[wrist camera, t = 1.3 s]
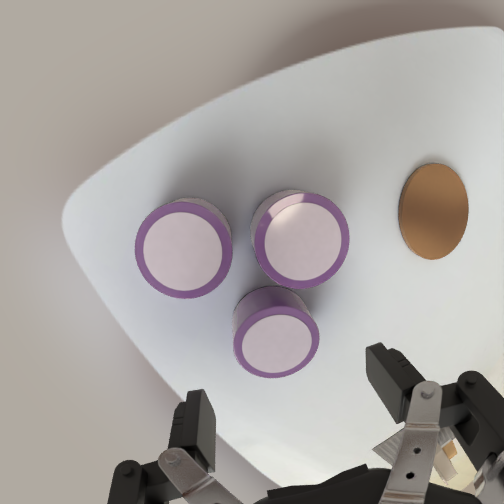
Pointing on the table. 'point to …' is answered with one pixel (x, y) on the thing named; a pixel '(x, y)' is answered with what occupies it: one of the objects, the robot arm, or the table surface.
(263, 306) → the purple short cylinder
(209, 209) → the purple rimmed puck
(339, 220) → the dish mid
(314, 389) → the table surface
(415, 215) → the brown wooden coaster
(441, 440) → the architectural model
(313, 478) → the table surface
